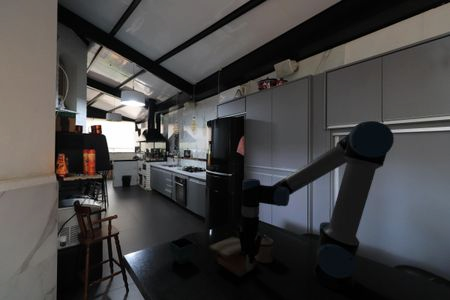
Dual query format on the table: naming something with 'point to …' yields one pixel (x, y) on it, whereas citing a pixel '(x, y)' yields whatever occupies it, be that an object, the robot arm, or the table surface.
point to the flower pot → (182, 250)
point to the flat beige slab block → (227, 248)
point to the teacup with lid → (265, 250)
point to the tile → (235, 264)
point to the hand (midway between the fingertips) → (248, 269)
